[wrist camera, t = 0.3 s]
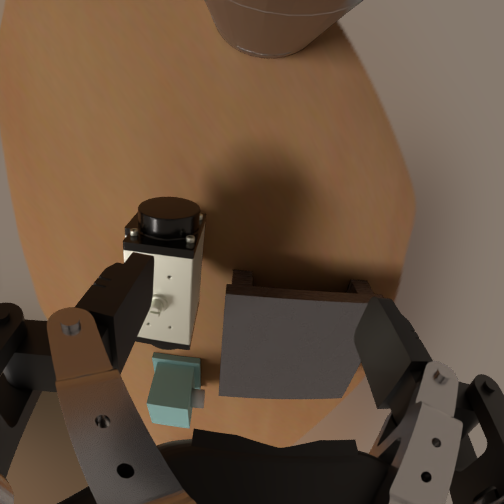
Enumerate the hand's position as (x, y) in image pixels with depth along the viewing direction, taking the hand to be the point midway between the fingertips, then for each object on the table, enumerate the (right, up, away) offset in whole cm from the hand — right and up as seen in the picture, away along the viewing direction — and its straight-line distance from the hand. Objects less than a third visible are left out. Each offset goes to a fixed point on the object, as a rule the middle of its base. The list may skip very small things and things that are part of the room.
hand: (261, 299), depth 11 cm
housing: (-11, -15, +29) cm, 34 cm away
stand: (+4, -7, +25) cm, 27 cm away
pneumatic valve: (-7, +3, +19) cm, 21 cm away
